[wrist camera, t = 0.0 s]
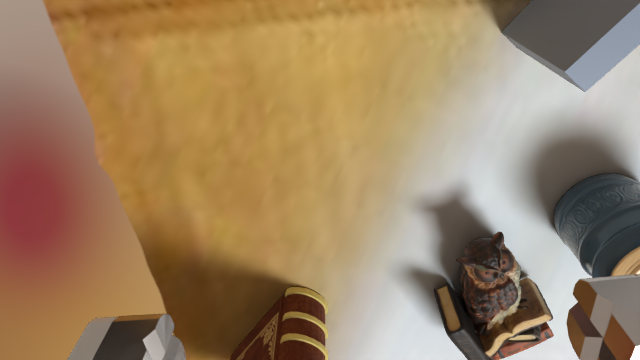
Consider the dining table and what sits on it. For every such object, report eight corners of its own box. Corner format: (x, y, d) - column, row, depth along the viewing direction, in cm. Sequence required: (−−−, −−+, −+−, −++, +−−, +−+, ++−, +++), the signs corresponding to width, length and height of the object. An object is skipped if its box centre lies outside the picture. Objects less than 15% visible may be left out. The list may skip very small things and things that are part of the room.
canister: (623, 244, 69) (708, 336, 54) (540, 242, 69) (602, 334, 53) (657, 171, 62) (766, 253, 47) (566, 169, 62) (645, 250, 47)
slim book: (501, 32, 53) (564, 71, 39) (564, -34, 49) (659, -16, 35) (517, 48, 54) (585, 92, 40) (580, -16, 50) (679, 9, 36)
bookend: (481, 381, 72) (412, 302, 59) (462, 324, 81) (398, 244, 68) (572, 350, 67) (518, 257, 55) (542, 293, 76) (489, 201, 63)
